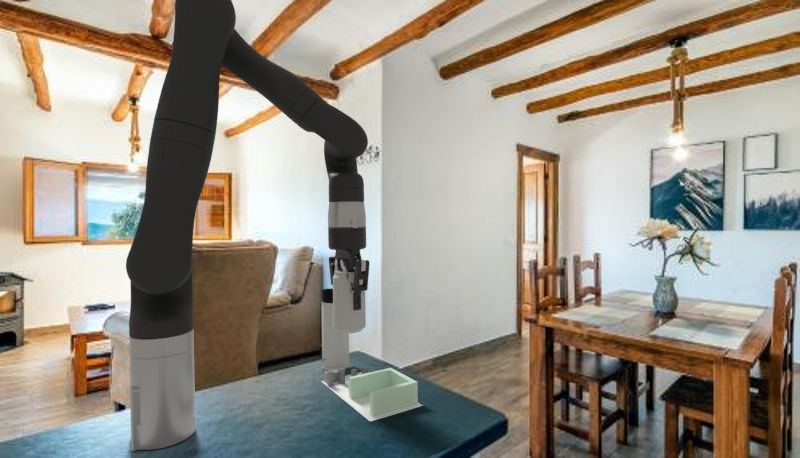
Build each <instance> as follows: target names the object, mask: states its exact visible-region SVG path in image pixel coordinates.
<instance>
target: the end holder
mask: <svg viewBox="0 0 800 458" xmlns="http://www.w3.org/2000/svg"><path fill="white" fill-rule="evenodd" d="M418 384H419V383H418V381H417V380H414V379H413V378H411V377H409V376H407V375H406V374H403V373H402V372H400V371H398V370H396V369H394V368H392V367H387V368H384V369H379V370H374V371H371V372H369V373H365V374H361V375H357V376H352V377H349V398H350V399H351V400H352V399H356V398H360V397H364V396H367V395H370V415H372V416H373V417H374V416H377V415H380V414H384V413H387V412H391V411H394V410H397V409H401V408H404V407H407V406H411V405H414V404H417V403H419V401H418V400H419V398H418V397H419V395H418V394H419V393H418V392H419V391H418V389H419V388H418V387H419V386H418Z"/></svg>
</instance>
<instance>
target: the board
mask: <svg viewBox="0 0 800 458" xmlns="http://www.w3.org/2000/svg"><path fill="white" fill-rule="evenodd" d="M322 373H323V377H322V378H323V380H321V381H320V382H321V383H322V384H323V385H325V386H326V387H327V388H328V389H330V390H331V391H332V392H333V393H335V394H336V395H337V396H338V397H339V398H341V399H342V400H343V401H344V402H345V403H347V405H349V406H350V407H351V408H352V409H354V410H355V411H357V413H359V414H360V415H362V417H364V418H365V419H366V420H368V421H369V422H374V421H377V420H380V419H383V418H387V417H390V416H394V415H397V414H400V413H404V412H407V411H410V410H413V409H417V408H420V407H423V406H424V405H423V404H421V403H419V402H418V403H417V404H414V405H411V406H407V407H404V408H401V409H397V410H394V411H391V412H387V413H384V414H380V415H377V416H374V417H373V416H372V415H370V395H367V396H364V397H360V398H356V399H352V400H351V399H350V398H349V377H352V376H357V375H361V374H365V373H370V372H369V367H368V366H361V371H360V372H358V369H357V368H352V369H350V374H347V375H346V369H344V368H339V370H337V369H334V370H329V371H324V372H323V371H322Z"/></svg>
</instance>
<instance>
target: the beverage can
mask: <svg viewBox="0 0 800 458" xmlns="http://www.w3.org/2000/svg"><path fill="white" fill-rule="evenodd" d="M347 274H349V277H348V280H349V281H348V280H347V277H346V273H345V272H343V271H335V275H334V276H333V285H332V289H333V323H334V329H336V330H337V331H338V332H340V333H349V334H355V333H360V332H362V331H363V330H364V328H366V327H367V326H366V322H367V321H366V320H367V319H366V317H367V316H366V291H363V292H362V293H361V310H353V305H354V304H353V303H354V302H353V294H350V282H352V283H353V285H354V272H349V273H347ZM361 280H362V284H363V279H361ZM361 280H359V285H360V281H361ZM356 298H357V297H356ZM357 306H358V305H357Z"/></svg>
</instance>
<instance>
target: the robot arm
mask: <svg viewBox="0 0 800 458" xmlns="http://www.w3.org/2000/svg"><path fill="white" fill-rule="evenodd" d="M236 20H237V14H236V10H235V6H234V4H233V2H232V0H175V1H174V26H173V27H174V30H173V42H172V49H171V54H170V55H171V57H170V61H169V64H168V68H167V71H166V74H165V76H164V77H165V78H164V81H163V84H162V87H161V91H160V95H159V99H158V103H157V106H156V110H155V115H154V118H153V125H152V127H151V128H152V129H151V134H150V139H149V145H148V154H147V164H146V175H145V193H144V201H143V206H142V210H141V214H140V218H139V221H138V224H137V228H136V231H135V234H134V236H133V241H132V244H131V247H130V250H129V252H128V254H127V257H126V261H125V262H126V263H125V270H126V274H127V277H128V279H129V280H130V311H129V319H128V333H129V373H130V374H129V379H130V380H129V385H130V386H129V397H130V447H131V448H130V449H131V452H136V451H141V450H144V451H145V450H146V451H148V450H149V451H150V450H158V449H159V450H160V449H163V448H168V447H170V446H171V447H172V446H174V445H177V444H179V443H181V442H183V441H185V440H187V439H189V437H191V436H192V435H193V434H194V433H195V431H196V391H195V389H196V388H195V387H196V386H195V383H196V382H195V380H196V379H195V378H196V377H195V338H194V337H195V333H194V332H195V331H194V330H195V329H194V316H195V315H194V294H193V293H194V290H193V289H194V287H193V286H194V285H193V282H194V281H193V242H194V227H195V221H196V220H195V218H196V212H197V207H198V204H199V201H200V198H201V194H202V192H203V189H204V187H205V186H204V185H205V182H206V179H207V176H208V172H209V169H210V166H211V161H212V156H213V152H214V151H213V150H214V146H215V140H216V135H217V134H216V133H217V126H218V125H217V124H218V116H219V104H220V101H219V100H220V80H221V79H220V78H221V71H222V68H224V69H226V70H227V71H228V72H230V73H232V74H233V75H234V76H236V77H237V78H239V79H240V80H241V81H242V82H244V83H245V84H247V85H248V86H249V87H251V88H253V90H255V91H256V92H258V93H259V94H260V95H261V96H262V97H264V98H265V99H266V100H267V101H269V103H271V104H272V105H273V106H274V107H276V108H277V109H278V110H279V111H280V112H282V114H284V115H285V116H286V117H287V118H289V119H290V120H291V121H292V122H294V124H296V125H297V126H298V127H299V128H300V129H302V130H303V131H305V132H307V133H314V134H316V135H317V136H319V137H320V138H322V139H323V140H324V142H323V143H324V144H323V156H324V163H325V169H326V173H327V174H326V175H327V177H328V208H327V209H328V211H327V227H328V228H327V230H328V231H327V235H328V237H327V239H328V248H329V250H333V251H335V254H334V255H335V256H329V257H328V266H329V268H328V269H329V277H330V284H331V286H333V276H334V275H335V271H343V272H345V273H346V277H347V280H348V277H349V274H347V273H349V272H354V285H353V283H352V282H350V294H353V302H354V303H353V304H354V305H353V310H361V293H362V292H363V291H365V292H366V291H368V289H369V288H368V287H369V276H370V275H369V273H370V260H368V259H366V260H365V259H362V256H361V250H364V249H366V248H367V220H366V219H367V215H366V207H365V183H364V179H363V176H362V175H361V174H360V173H359V172H358V165H357V158H359V157H360V156H362V155H363V154H364V153H365V152H366V150H367V148H368V145H369V139H368V135H367V132H366V131H365V129H364V128H363V127H362V126H361V124H360V123H358V121H357V120H355V119H353V118H352V117H351V116H350V115H348V114H346V113H345V112H344V111H342V110H340V109H339V108H336V107H335V106H333V105H332V104H330V103H329V102H327V101H326V100H325V99H323V97H322V96H321V95H319V93H317V92H316V91H315V90H314V89H313V88H311V86H309V85H308V84H307V83H306V82H305V81H303V79H301V78H300V77H298V76H297V75H296V74H294V73H293V72H291V71H290V70H288V69H286V68H284V67H282V66H280V65H278V64H277V63H275V62H273V61H272V60H270V59H268V58H267V57H265V56H263V55H262V54H261V53H259V52H258V51H257V50H255V49H254V48H253V47H252V46H251V45H250V44H249V43H248V42H247V41H246V40H245V39H244V38H243V37H242V35H240V33H239V32H238V31H237V30H236V29H235V26H236V24H237V23H236ZM361 279H363V284H362V280H361ZM359 280H361V281H360V285H359ZM348 281H349V280H348ZM356 297H357V298H356ZM357 305H358V306H357Z"/></svg>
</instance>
